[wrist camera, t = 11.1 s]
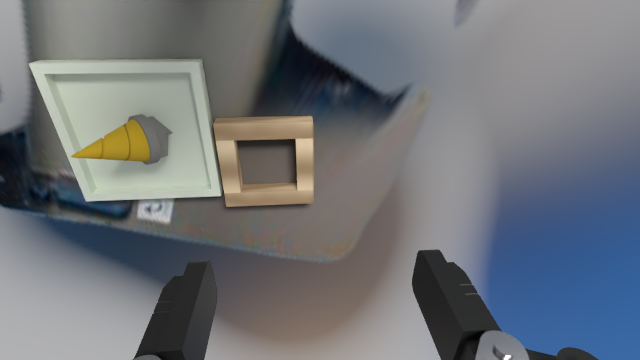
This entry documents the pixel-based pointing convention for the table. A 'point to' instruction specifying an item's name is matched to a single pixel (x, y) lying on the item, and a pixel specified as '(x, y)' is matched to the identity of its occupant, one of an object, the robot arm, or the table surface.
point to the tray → (114, 111)
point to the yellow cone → (131, 142)
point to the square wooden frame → (265, 130)
